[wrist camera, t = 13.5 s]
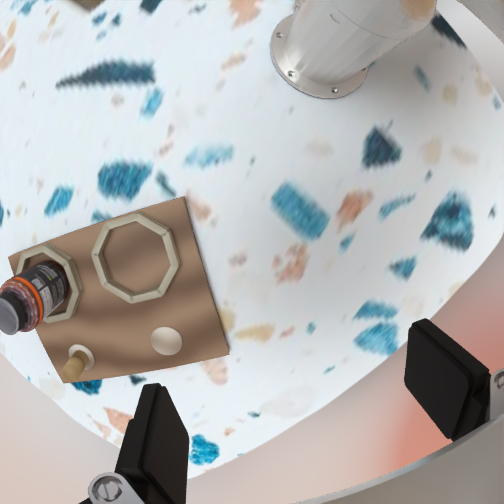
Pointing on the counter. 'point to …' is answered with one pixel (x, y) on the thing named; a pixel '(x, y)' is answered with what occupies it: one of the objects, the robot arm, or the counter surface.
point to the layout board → (137, 318)
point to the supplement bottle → (31, 297)
